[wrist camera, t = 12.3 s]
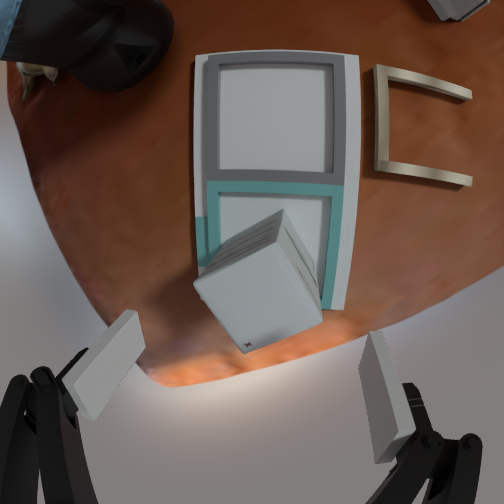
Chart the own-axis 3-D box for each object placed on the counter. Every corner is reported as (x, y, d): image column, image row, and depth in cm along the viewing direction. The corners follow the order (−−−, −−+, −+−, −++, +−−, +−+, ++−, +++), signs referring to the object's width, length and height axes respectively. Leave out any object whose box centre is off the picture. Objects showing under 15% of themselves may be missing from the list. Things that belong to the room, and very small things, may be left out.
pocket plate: (202, 296, 36) (198, 303, 34) (198, 58, 26) (192, 53, 24) (342, 305, 34) (344, 314, 32) (356, 58, 24) (360, 52, 22)
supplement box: (316, 262, 31) (326, 325, 20) (260, 289, 33) (241, 358, 22) (285, 205, 30) (278, 239, 18) (227, 236, 32) (188, 285, 20)
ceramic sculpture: (46, -5, 16) (29, 82, 21) (81, 7, 23) (70, 84, 29) (8, 24, 17) (-5, 103, 23) (42, 29, 25) (32, 101, 31)
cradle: (373, 170, 28) (377, 170, 26) (373, 67, 24) (376, 64, 22) (465, 184, 26) (471, 186, 25) (465, 92, 22) (471, 90, 21)
